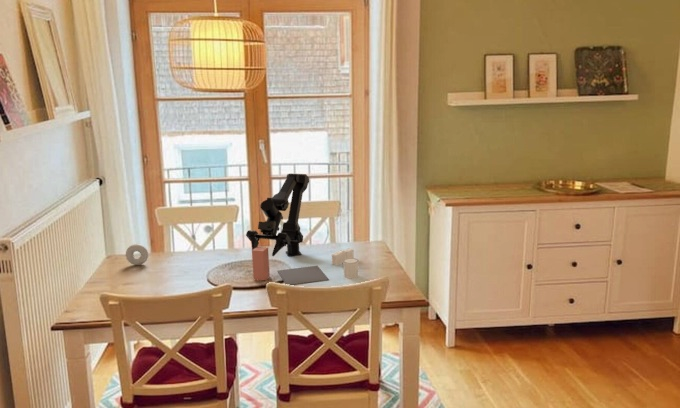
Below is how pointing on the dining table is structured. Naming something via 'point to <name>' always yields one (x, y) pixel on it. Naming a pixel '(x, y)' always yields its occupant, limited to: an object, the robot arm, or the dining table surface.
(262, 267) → the card box
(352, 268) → the shot glass
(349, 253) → the napkin holder
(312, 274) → the mat
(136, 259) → the donut
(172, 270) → the dining table surface
